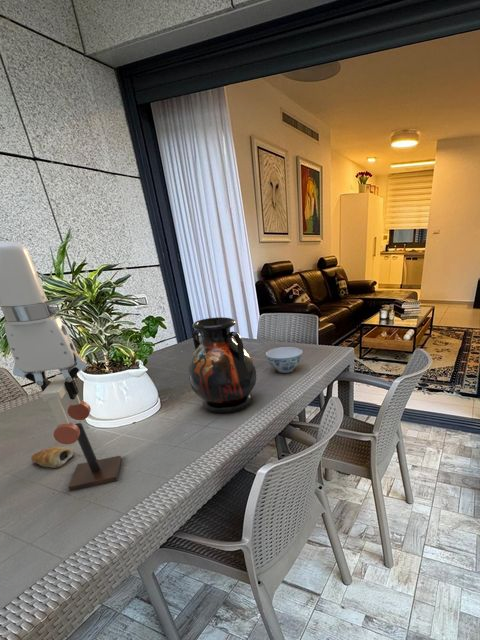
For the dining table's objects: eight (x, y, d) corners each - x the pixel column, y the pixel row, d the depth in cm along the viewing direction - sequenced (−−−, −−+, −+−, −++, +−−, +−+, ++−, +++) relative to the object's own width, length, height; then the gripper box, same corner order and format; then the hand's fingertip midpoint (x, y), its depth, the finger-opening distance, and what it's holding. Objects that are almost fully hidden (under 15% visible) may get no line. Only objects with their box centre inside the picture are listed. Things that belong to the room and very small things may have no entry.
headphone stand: (70, 491, 82) (45, 440, 75) (79, 467, 90) (57, 419, 84) (117, 480, 85) (97, 430, 78) (122, 459, 93) (104, 412, 86)
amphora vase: (182, 411, 117) (160, 326, 103) (224, 388, 134) (210, 312, 120) (233, 423, 108) (217, 332, 95) (271, 396, 125) (262, 316, 112)
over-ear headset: (58, 446, 75) (35, 396, 69) (73, 418, 87) (54, 373, 81) (81, 442, 76) (60, 393, 71) (93, 415, 88) (76, 371, 82)
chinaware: (302, 376, 142) (300, 357, 138) (265, 377, 142) (263, 358, 139) (304, 363, 155) (303, 346, 151) (270, 364, 155) (268, 347, 152)
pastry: (26, 467, 91) (19, 455, 89) (46, 453, 97) (41, 441, 95) (59, 469, 90) (53, 456, 88) (77, 454, 96) (72, 442, 94)
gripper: (80, 306, 74) (108, 386, 83) (-15, 313, 69) (26, 398, 78) (72, 312, 68) (103, 399, 77) (-33, 321, 63) (13, 412, 72)
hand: (63, 397), depth 78 cm, fingers closed on over-ear headset, 3 cm apart
